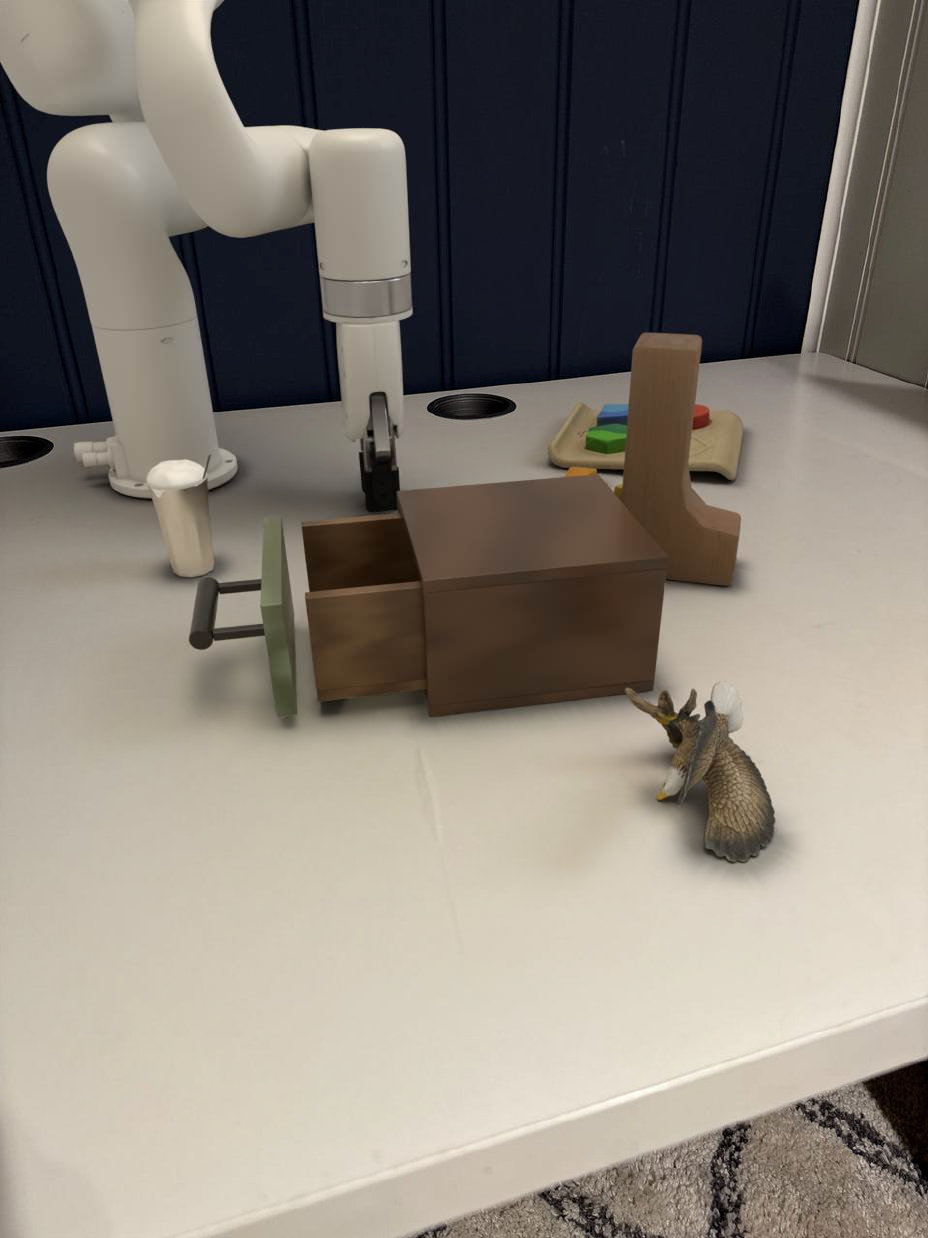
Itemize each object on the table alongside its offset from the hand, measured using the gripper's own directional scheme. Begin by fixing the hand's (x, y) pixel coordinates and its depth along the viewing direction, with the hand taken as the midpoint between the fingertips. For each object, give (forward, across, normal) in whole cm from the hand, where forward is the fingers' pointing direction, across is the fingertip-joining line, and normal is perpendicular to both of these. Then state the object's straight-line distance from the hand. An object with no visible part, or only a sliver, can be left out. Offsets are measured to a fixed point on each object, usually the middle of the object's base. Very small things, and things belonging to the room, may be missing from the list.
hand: (380, 498), depth 84 cm
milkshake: (+1, +10, -16) cm, 19 cm away
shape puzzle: (+1, -6, +28) cm, 29 cm away
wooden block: (+1, +18, +22) cm, 28 cm away
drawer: (0, +27, -5) cm, 27 cm away
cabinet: (+1, +27, +7) cm, 28 cm away
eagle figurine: (+1, +44, +13) cm, 46 cm away
